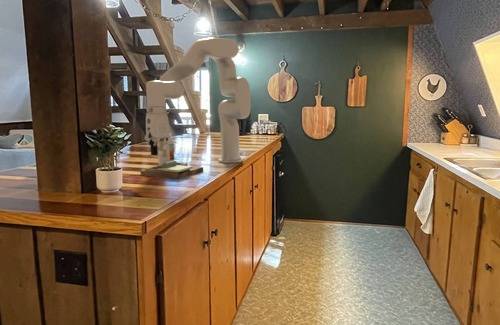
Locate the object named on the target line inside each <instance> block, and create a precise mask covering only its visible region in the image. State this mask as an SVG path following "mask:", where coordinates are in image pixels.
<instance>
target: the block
mask: <svg viewBox="0 0 500 325" xmlns="http://www.w3.org/2000/svg"><path fill="white" fill-rule="evenodd" d="M153 141H154V140H153ZM156 146H157V155H151V154H150V158H153V159H154V158H155V159H156V158H157V159H158V158H162V157H166V140H158V139H157V141H156Z"/></svg>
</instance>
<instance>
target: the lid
mask: <svg viewBox="0 0 500 325" xmlns="http://www.w3.org/2000/svg"><path fill="white" fill-rule="evenodd" d="M177 163H178V161H177V160H174V161H171V162H166V163H163V168H162V170H163V171H172V172H181V171H185V170H189V169H192V168H193V167H192V166H193V165H188V166H182V165H177Z"/></svg>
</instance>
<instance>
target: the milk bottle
mask: <svg viewBox="0 0 500 325" xmlns="http://www.w3.org/2000/svg"><path fill="white" fill-rule="evenodd" d="M169 127H171V126H170V125H169ZM157 140H159V139H157ZM162 140H163V139H162ZM174 145H175V143H174V140H173V137H172V134H171V133H170V138H169V139H168V141H167V144H166V157H162V158H157V159H158V166H159V165H163V163H166V162H171V161H175V147H174Z"/></svg>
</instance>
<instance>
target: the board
mask: <svg viewBox="0 0 500 325" xmlns="http://www.w3.org/2000/svg"><path fill="white" fill-rule="evenodd" d="M177 165H182V166H189V165H188V163H185V162H184V163H183V162H177ZM191 166H192V167H193V168H192V169H189V170H185V171H181V172H172V171H163V170H162V168H163V165H159V164H158V165H155V166H150V167H147V168H144V169H141V170H139V171H140V176H144V177H145V176H147V177H154V178H163V179H170V180H180V179H183V178H186V177H190V176H193V175H197V174H200V173H203V172H204V167H203V166H193V165H191Z"/></svg>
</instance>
